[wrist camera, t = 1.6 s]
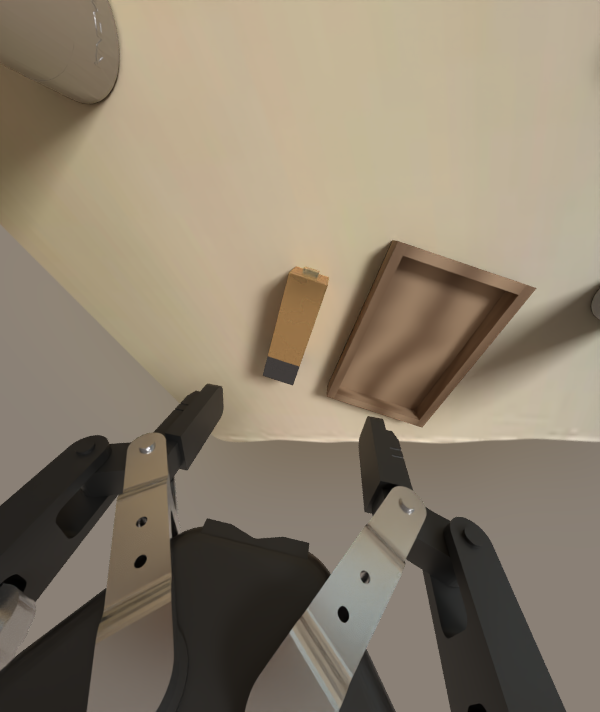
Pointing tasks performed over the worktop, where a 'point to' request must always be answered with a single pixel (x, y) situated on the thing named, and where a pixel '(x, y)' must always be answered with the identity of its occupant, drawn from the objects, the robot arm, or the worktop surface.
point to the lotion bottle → (596, 304)
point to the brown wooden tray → (421, 332)
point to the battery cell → (295, 323)
